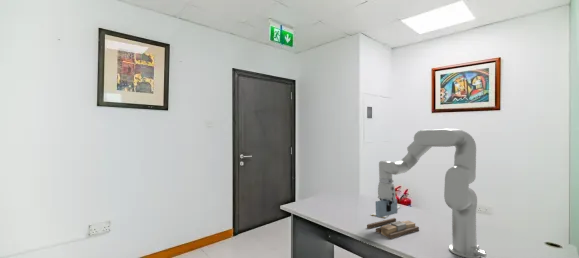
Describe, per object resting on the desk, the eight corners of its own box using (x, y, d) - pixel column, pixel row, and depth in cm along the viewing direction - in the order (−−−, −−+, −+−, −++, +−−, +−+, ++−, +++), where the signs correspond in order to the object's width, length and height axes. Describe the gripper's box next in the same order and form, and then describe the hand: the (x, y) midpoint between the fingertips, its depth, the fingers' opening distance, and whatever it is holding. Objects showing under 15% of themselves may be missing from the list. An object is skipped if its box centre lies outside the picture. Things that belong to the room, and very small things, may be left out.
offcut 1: (396, 234, 138) (396, 226, 138) (388, 237, 135) (388, 229, 135) (389, 231, 143) (389, 224, 143) (381, 234, 139) (381, 226, 139)
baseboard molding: (368, 215, 172) (385, 219, 164) (368, 211, 172) (385, 215, 164) (385, 205, 195) (400, 208, 187) (385, 201, 195) (400, 204, 187)
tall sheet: (397, 213, 152) (397, 198, 153) (379, 217, 145) (378, 202, 145) (394, 212, 155) (393, 197, 155) (375, 216, 147) (375, 201, 148)
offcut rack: (418, 230, 144) (418, 226, 144) (390, 238, 133) (390, 235, 133) (394, 220, 159) (394, 217, 159) (367, 227, 149) (367, 224, 149)
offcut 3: (415, 230, 145) (415, 223, 145) (406, 231, 142) (406, 225, 142) (408, 226, 150) (408, 220, 150) (399, 228, 147) (399, 222, 147)
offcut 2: (406, 232, 142) (406, 223, 142) (397, 234, 139) (397, 225, 139) (399, 229, 146) (398, 220, 146) (390, 231, 143) (390, 223, 143)
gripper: (401, 182, 145) (402, 213, 145) (379, 178, 159) (380, 206, 159) (392, 183, 142) (393, 215, 141) (371, 179, 156) (372, 208, 155)
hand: (386, 210), depth 150 cm, fingers closed on tall sheet, 2 cm apart
